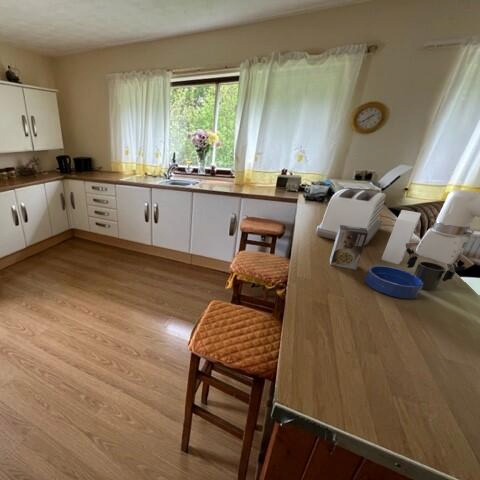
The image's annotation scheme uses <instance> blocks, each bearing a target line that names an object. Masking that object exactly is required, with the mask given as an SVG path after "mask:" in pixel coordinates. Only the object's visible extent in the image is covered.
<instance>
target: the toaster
mask: <svg viewBox="0 0 480 480" xmlns="http://www.w3.org/2000/svg"><path fill="white" fill-rule="evenodd" d="M386 196H387V194H386V193H385V192H373V191H367V190H363V189H362V190H359V189H358V190H357V189H352V188H342V189H340V190H338V191H336V192H335V193H334V194H333V195H332V196H331V198H330V200H329V202H328V204H327V207H326V209H325V213H324V215H323V217H322V222H321V223H319V225H317V227H316V229H315V233H316V235H317V236H319V237H321V238H325V239H329V240H333V241H335V240H336V236H337V233H338V229H339V226H340V225H345V226H353V227H360V228H366V229H367V232H368V236H367V239H366V242H365V245H364V246H366V245H368V244H369V242H370V241H371V240H372V239H373V238H374V236H375V235H376V233H377V232H378V230H380V228H381V227H382V221H381V219H380V216H381V214H382V211H383V207H384V204H385V200H386Z"/></svg>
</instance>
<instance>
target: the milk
mask: <svg viewBox="0 0 480 480" xmlns="http://www.w3.org/2000/svg"><path fill="white" fill-rule="evenodd" d="M421 215H422V213H421V212H417V211H410V210H406V209H402V210H400V212H399V215H398V217H397V218H396V221H395V223H394V226H393V227H392V230H391V234H390V236H389V238H388V241H387V244H386V246H385V249H384V251H383V254H382V256H381V258H380V260H382V261H385V262H388V263H392V264H395V265H400V264H401V262H402V261H403V259H404V257H405V255H406V252H407V251H406V250H407V249H406V245H405V244H406V243H411V241H412V238H413V236H414V234H415V231H416V229H417V226H418V224H419V221H420V220H421V219H420V218H421Z"/></svg>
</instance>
